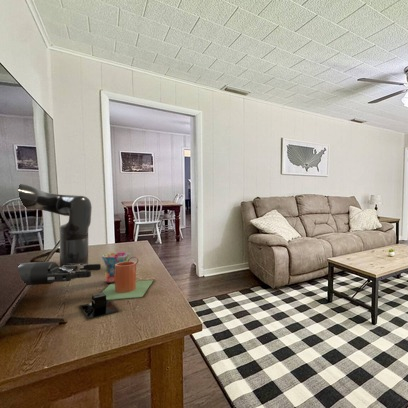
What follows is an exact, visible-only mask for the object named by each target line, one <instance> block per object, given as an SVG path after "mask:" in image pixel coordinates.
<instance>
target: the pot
mask: <svg viewBox="0 0 408 408" xmlns="http://www.w3.org/2000/svg"><path fill="white" fill-rule="evenodd" d="M136 263H137V261H129V262H121V263H117V264H115V282H114V283H115V292H116V293H126V292H130V291H133V290H135V289H136V281H137V265H136Z"/></svg>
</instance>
